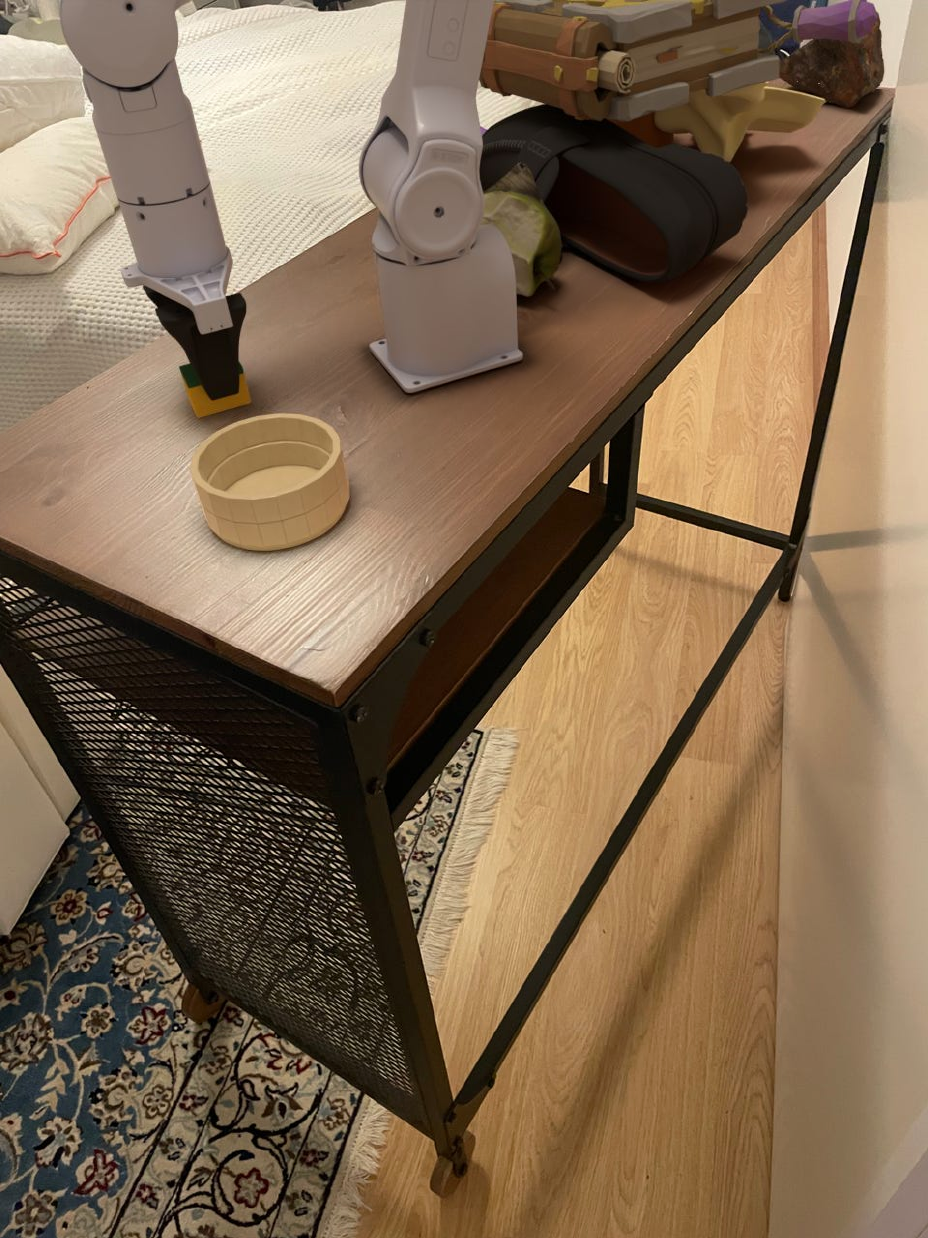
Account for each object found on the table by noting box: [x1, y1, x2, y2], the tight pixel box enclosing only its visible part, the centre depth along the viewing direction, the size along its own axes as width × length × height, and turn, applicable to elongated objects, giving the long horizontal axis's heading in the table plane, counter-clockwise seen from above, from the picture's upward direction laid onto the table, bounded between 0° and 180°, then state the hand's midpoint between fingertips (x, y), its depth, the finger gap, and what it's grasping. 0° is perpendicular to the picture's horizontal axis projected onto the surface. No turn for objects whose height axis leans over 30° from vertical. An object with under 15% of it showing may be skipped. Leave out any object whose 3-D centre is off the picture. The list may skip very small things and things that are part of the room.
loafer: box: [479, 103, 749, 284], centre depth 81 cm, size 10×28×12 cm
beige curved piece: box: [654, 81, 828, 163], centre depth 95 cm, size 22×19×6 cm
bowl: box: [189, 412, 351, 552], centre depth 58 cm, size 9×9×4 cm
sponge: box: [178, 361, 252, 419], centre depth 67 cm, size 4×3×3 cm, turn 115°
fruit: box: [481, 162, 562, 298], centre depth 77 cm, size 9×9×8 cm
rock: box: [779, 11, 885, 109], centre depth 106 cm, size 14×12×10 cm
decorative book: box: [479, 0, 878, 121], centre depth 80 cm, size 25×27×11 cm
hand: (218, 384), depth 68 cm, fingers closed on sponge, 2 cm apart
